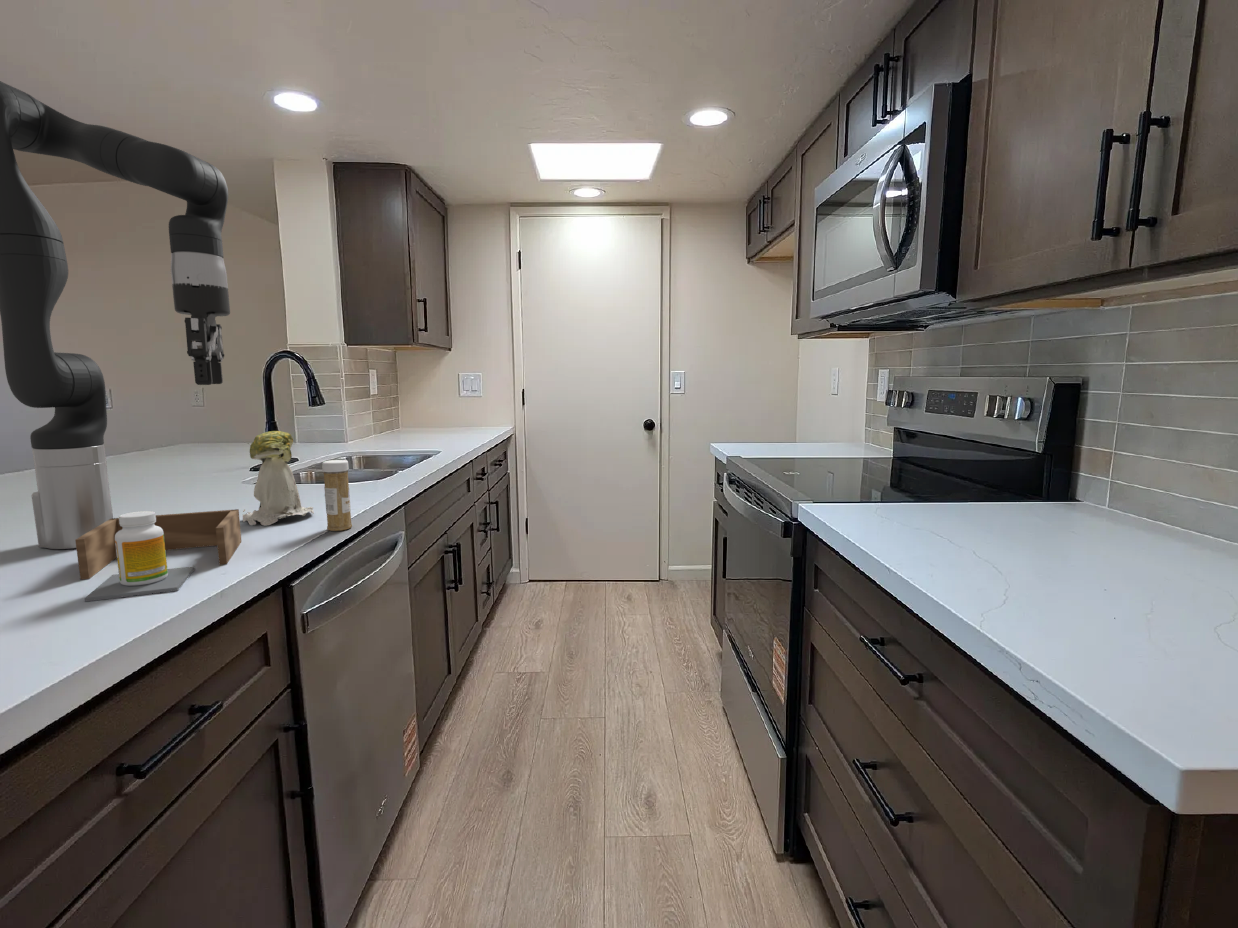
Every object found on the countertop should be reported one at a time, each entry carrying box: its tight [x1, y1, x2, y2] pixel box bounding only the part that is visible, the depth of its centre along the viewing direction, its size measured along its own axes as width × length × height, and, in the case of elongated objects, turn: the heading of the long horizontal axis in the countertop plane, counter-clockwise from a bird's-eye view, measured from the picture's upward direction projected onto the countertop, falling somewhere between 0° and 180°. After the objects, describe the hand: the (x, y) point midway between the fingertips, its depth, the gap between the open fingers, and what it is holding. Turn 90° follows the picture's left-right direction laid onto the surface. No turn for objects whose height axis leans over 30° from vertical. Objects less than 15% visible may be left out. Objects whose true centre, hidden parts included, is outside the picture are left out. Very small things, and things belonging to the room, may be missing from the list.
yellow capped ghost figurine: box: [242, 430, 314, 527], centre depth 122 cm, size 12×13×18 cm
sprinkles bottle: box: [321, 459, 353, 532], centre depth 114 cm, size 5×5×13 cm
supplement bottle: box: [115, 510, 169, 586], centre depth 83 cm, size 5×5×10 cm
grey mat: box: [84, 565, 196, 602], centre depth 84 cm, size 10×10×1 cm
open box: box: [75, 508, 242, 580], centre depth 95 cm, size 14×18×6 cm
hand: (209, 384), depth 98 cm, fingers open, 8 cm apart
